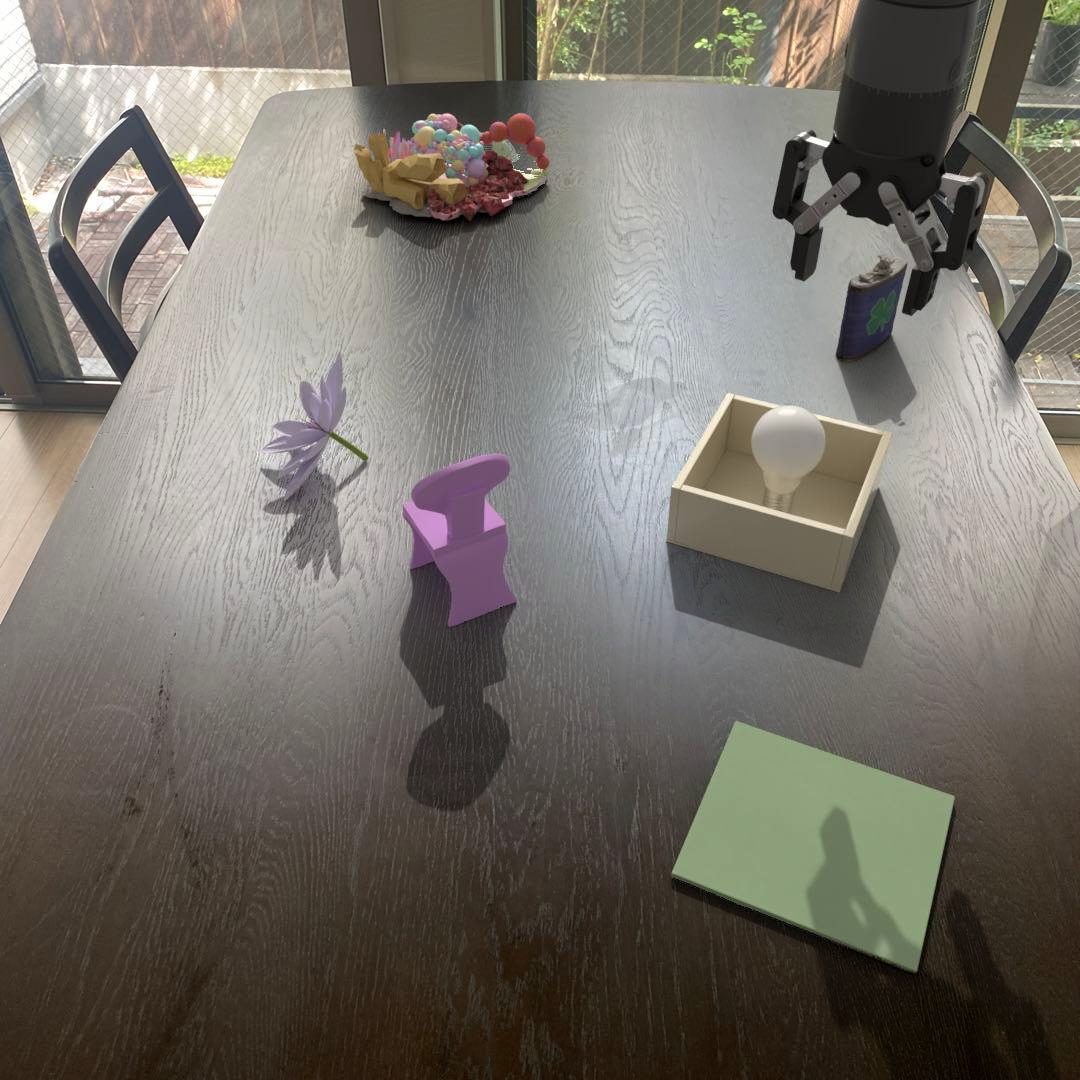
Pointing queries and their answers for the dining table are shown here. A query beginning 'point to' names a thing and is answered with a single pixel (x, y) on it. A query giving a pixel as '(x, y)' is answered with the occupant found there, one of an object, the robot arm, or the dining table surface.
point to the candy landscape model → (451, 167)
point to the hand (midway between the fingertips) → (856, 293)
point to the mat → (819, 843)
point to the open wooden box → (766, 534)
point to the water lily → (313, 427)
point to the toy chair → (463, 534)
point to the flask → (870, 308)
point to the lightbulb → (786, 452)
